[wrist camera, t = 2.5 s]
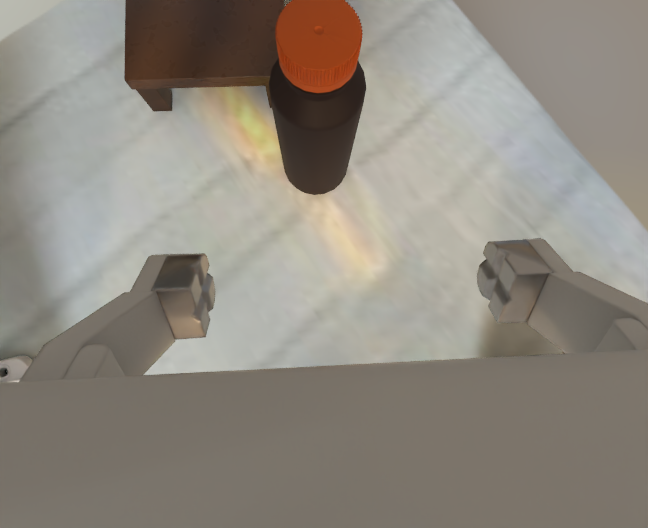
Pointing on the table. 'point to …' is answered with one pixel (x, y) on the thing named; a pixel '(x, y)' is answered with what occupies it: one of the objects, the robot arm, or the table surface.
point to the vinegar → (317, 91)
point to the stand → (198, 45)
